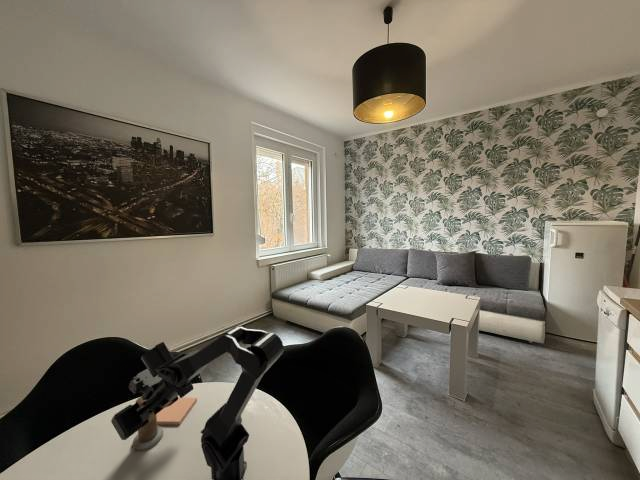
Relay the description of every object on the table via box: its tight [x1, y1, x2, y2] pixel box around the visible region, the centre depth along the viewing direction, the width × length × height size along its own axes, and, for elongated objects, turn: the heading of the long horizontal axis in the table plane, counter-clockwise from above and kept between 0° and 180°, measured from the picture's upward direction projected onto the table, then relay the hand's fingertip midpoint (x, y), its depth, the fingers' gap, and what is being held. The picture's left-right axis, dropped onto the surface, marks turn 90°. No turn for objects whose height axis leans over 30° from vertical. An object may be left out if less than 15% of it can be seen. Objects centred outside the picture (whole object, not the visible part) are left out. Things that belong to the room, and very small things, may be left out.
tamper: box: [132, 396, 164, 452], centre depth 69 cm, size 7×7×12 cm
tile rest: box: [156, 397, 198, 426], centre depth 80 cm, size 10×10×1 cm
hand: (143, 415), depth 70 cm, fingers closed on tamper, 4 cm apart
